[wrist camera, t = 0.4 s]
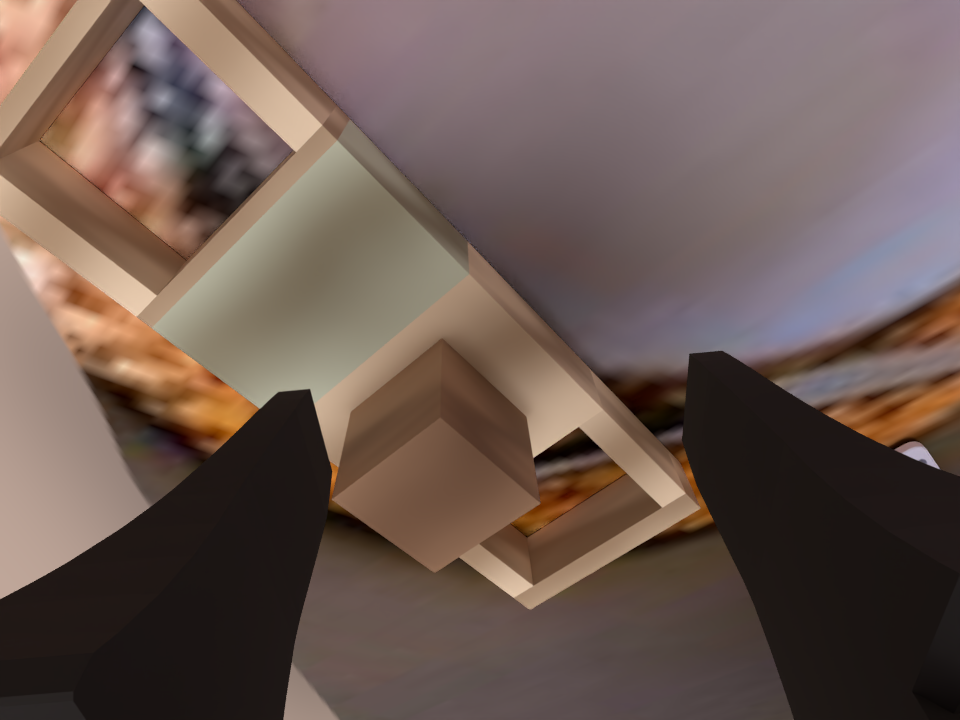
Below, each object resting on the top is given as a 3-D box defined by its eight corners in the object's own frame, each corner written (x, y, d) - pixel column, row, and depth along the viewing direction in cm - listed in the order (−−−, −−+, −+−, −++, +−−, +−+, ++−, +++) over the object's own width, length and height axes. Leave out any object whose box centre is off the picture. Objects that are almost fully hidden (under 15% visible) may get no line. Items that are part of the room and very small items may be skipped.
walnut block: (526, 416, 22) (540, 503, 18) (437, 480, 23) (434, 573, 20) (442, 338, 20) (440, 417, 17) (350, 411, 21) (331, 499, 18)
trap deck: (680, 463, 26) (700, 508, 24) (523, 561, 29) (529, 609, 27) (170, -68, 17) (129, -70, 14) (3, 151, 19) (-53, 176, 17)
